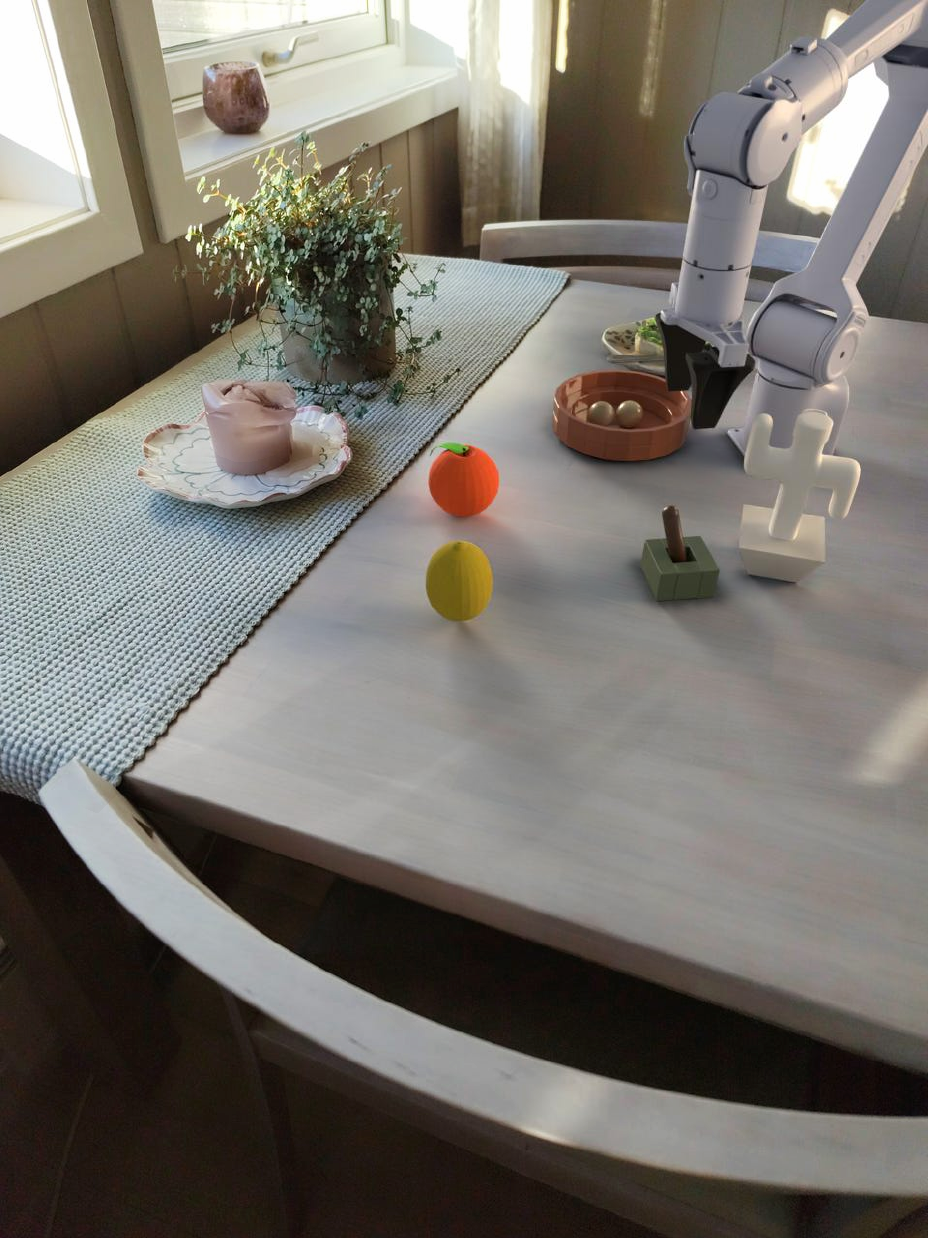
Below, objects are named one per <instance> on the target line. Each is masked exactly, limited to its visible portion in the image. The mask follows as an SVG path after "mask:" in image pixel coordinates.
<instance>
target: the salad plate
mask: <svg viewBox="0 0 928 1238" xmlns="http://www.w3.org/2000/svg"><path fill="white" fill-rule="evenodd" d="M600 342H601V344H602V345H604V347H605V348H606V350H607V351H608V353H610V355H608V356H607V362H608V363H611V364H615V365H620V366H621V365H622V366H626V367H627V368H628V369H629V370H631V371H637V372H642V373H646V374H651V375H655V376H662V377H665V363H664V351H663V345H662V340H661V335H660V332H659V329H658V326H657V323H656V320H655V316H654V317H650V318H649V317H648V318H646V319H642V320H641V319H640V320H638V321H633V322H626V323H622V324H618V325H613V326H610V327H608V328H607V329H605V331H604V332H603V334H602V337H601V339H600ZM710 347H712V346H711V345H710V343H708V342H707V341H706V343H705V346H704V348H703V350H702V352H708V353H709V350H710Z"/></svg>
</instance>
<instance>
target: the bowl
mask: <svg viewBox="0 0 928 1238" xmlns="http://www.w3.org/2000/svg"><path fill="white" fill-rule="evenodd" d="M599 401H604V402H607V403H609V404H610V405H611V406H612V407H613V409H614V419H613V421H612V423H611V424H610V425H609V426H607V427H604V426H600V425H596V424H592V423H590V422H589V420H588V411H589V408H590V407H591V406H592V405H593V404H594V403H596V402H599ZM625 401H635V402H637V403H638V404H639V405H640V406H641V408H642V411H643V416H642V419H641V421H640V422H639V424H637V425H636V426H634V427H631V428H627V427H623V426H622V425H620V424H619V423H618V421H617V419H616V411H617V408H618V407H619V405H620V404H621V403H623V402H625ZM691 402H692V397H690V395H689V394H688V391H670V392H669V391H668V390H667V387H666V379H665V378H664V377H660V376H659V375H654V374H650V373H645V372H639V371H634V370H627V369H626V370H625V369H624V370H623V369H602V370H601V369H600V370H594V371H587V372H583V373H579V374H576V375H574V376H572V377H569V378H568V379H565V380H564V381H563V382H562V383H560V384H559V386H557V387H556V389H555V393H554V397H553V407H552V421H551V427H552V429H553V432H554V434H555V436H556V437H557V438H558V439H559V440H560V441H561V442H562V443H564V445H566V446H568V447H569V448H571V449H573V450H576V451H578V452H579V453H582V454H585V455H588V456H592V457H596V458H599V459H603V460H609V461H610V460H611V461H622V462H636V461H649V460H653V459H657V458H661V457H665V456H668V455H670V454H672V453H673V452H675V451H677V450H679V449H680V448H681V447H682V446H683V444H684V443H685V442H686V441H687V439H688V435H689V429H690V424H691Z"/></svg>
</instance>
